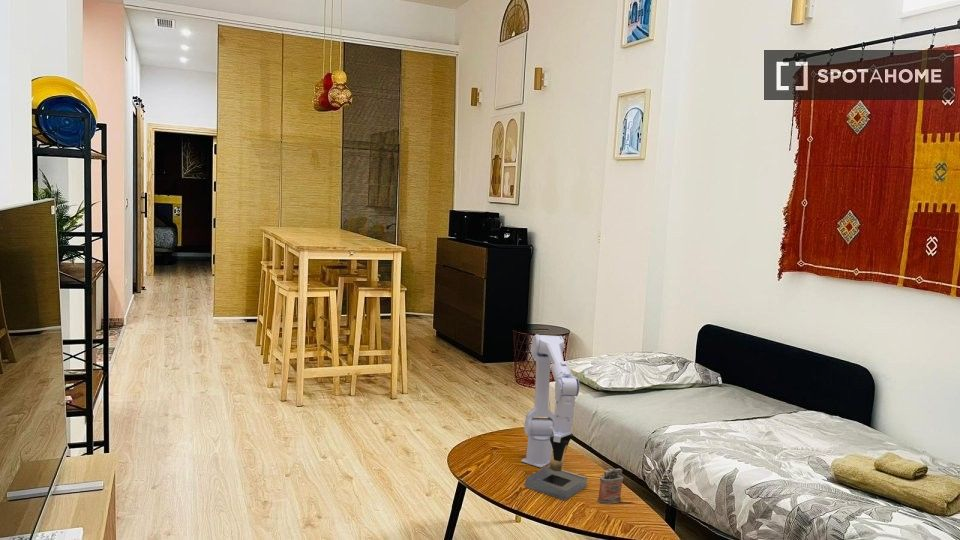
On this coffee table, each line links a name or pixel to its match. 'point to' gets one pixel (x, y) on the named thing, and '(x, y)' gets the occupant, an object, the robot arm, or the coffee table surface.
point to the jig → (556, 483)
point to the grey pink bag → (610, 487)
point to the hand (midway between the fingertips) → (559, 458)
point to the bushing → (556, 462)
